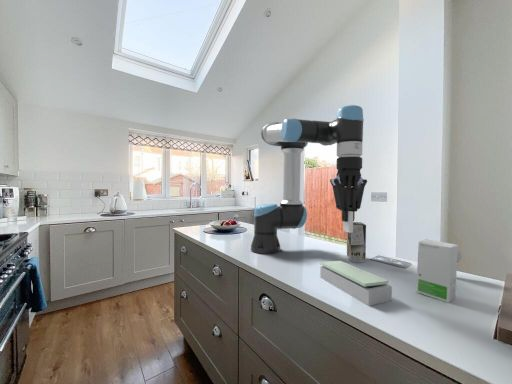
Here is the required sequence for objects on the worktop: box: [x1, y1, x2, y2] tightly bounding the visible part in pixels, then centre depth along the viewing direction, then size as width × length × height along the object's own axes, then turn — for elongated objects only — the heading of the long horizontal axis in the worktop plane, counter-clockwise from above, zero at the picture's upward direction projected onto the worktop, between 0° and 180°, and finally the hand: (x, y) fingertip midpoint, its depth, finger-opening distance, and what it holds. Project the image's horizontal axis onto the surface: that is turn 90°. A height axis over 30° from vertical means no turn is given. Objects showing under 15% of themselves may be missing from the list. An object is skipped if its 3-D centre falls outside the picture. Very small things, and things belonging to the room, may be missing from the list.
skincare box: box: [415, 238, 459, 304], centre depth 69 cm, size 8×7×16 cm
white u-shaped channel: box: [319, 265, 393, 306], centre depth 74 cm, size 21×8×4 cm, turn 20°
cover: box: [319, 260, 389, 287], centre depth 74 cm, size 20×9×1 cm, turn 20°
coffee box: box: [346, 221, 367, 263], centre depth 104 cm, size 9×6×16 cm
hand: (347, 231), depth 74 cm, fingers closed
